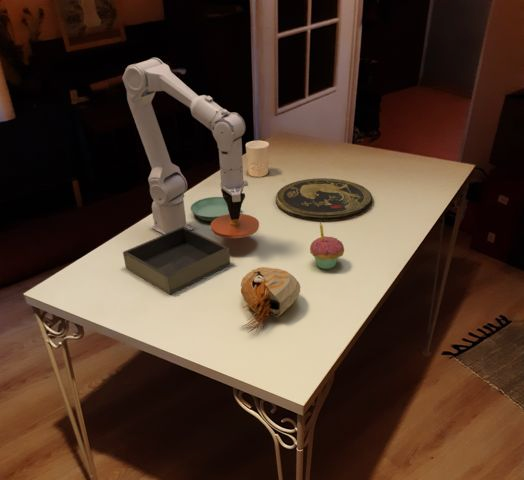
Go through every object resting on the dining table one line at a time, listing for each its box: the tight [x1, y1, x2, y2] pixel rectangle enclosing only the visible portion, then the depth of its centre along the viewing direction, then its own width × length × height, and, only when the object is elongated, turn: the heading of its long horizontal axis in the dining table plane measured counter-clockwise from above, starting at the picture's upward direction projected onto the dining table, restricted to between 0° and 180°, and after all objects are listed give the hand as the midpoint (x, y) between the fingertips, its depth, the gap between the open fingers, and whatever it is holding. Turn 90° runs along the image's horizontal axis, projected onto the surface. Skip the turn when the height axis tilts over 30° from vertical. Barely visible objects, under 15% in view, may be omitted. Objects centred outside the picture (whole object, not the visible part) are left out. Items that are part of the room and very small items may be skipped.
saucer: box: [189, 196, 229, 223], centre depth 169 cm, size 15×15×3 cm
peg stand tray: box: [122, 227, 231, 295], centre depth 144 cm, size 19×20×5 cm
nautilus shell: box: [240, 266, 301, 334], centre depth 126 cm, size 8×22×15 cm
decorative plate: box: [275, 177, 374, 221], centre depth 175 cm, size 30×2×30 cm
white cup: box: [245, 140, 270, 178], centre depth 192 cm, size 8×8×10 cm
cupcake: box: [309, 221, 345, 270], centre depth 141 cm, size 9×8×12 cm
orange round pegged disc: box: [210, 213, 260, 239], centre depth 149 cm, size 13×13×7 cm
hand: (234, 217), depth 149 cm, fingers closed on orange round pegged disc
